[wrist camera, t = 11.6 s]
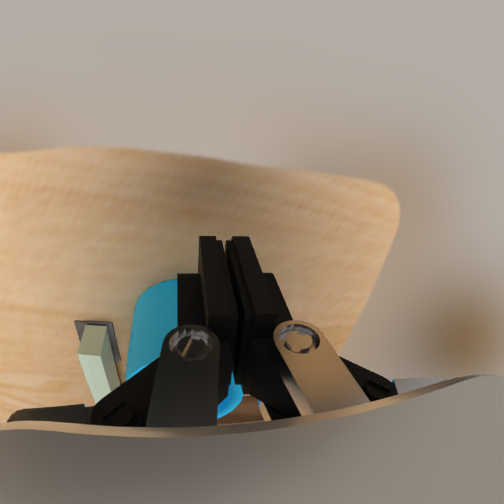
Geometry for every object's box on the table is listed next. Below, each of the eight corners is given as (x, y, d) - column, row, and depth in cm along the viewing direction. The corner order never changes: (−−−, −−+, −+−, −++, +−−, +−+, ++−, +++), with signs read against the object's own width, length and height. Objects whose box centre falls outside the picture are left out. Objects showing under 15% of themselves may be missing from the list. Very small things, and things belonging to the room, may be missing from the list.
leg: (124, 400, 30) (123, 426, 27) (107, 399, 29) (105, 425, 27) (106, 326, 25) (100, 356, 22) (85, 324, 24) (77, 354, 21)
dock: (281, 401, 36) (289, 424, 33) (106, 407, 31) (103, 431, 28) (307, 317, 29) (320, 343, 26) (74, 320, 24) (65, 348, 21)
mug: (175, 361, 29) (179, 433, 22) (114, 311, 25) (100, 388, 18) (282, 301, 27) (313, 372, 20) (231, 232, 23) (252, 303, 16)
